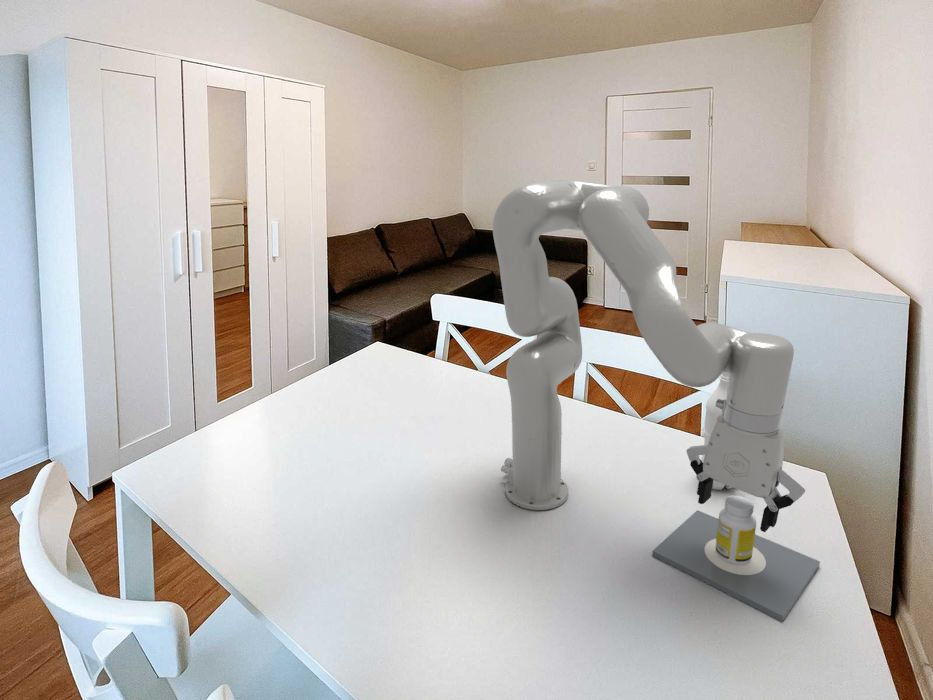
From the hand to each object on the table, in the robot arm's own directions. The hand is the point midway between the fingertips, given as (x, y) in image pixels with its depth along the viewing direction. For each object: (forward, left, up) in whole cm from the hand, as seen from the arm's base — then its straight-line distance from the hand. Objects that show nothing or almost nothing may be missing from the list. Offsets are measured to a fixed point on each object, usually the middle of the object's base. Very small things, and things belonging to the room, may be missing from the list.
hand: (733, 513), depth 87 cm
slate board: (+1, 0, -9) cm, 9 cm away
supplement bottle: (+1, 0, -8) cm, 8 cm away
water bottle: (-11, +21, -9) cm, 26 cm away
